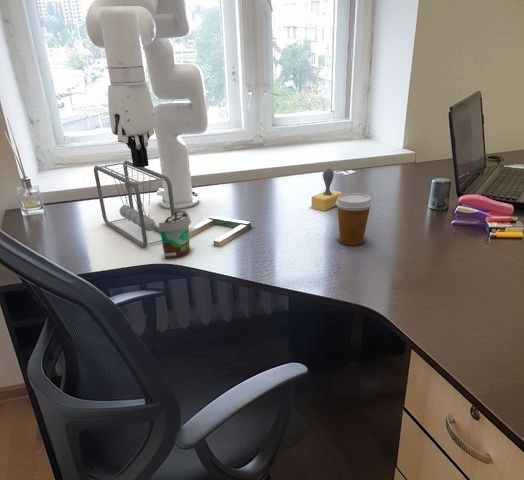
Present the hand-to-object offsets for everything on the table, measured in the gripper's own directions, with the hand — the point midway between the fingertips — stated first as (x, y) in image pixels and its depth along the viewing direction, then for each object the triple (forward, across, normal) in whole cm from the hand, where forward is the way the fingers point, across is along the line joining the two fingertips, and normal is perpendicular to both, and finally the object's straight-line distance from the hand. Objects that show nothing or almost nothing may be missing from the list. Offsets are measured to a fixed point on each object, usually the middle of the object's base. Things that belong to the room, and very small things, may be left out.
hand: (141, 166), depth 121 cm
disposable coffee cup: (+25, -38, +38) cm, 59 cm away
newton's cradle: (+25, -19, -22) cm, 39 cm away
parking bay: (+25, -27, 0) cm, 37 cm away
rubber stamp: (+25, -65, +19) cm, 72 cm away
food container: (+25, -11, 0) cm, 28 cm away
